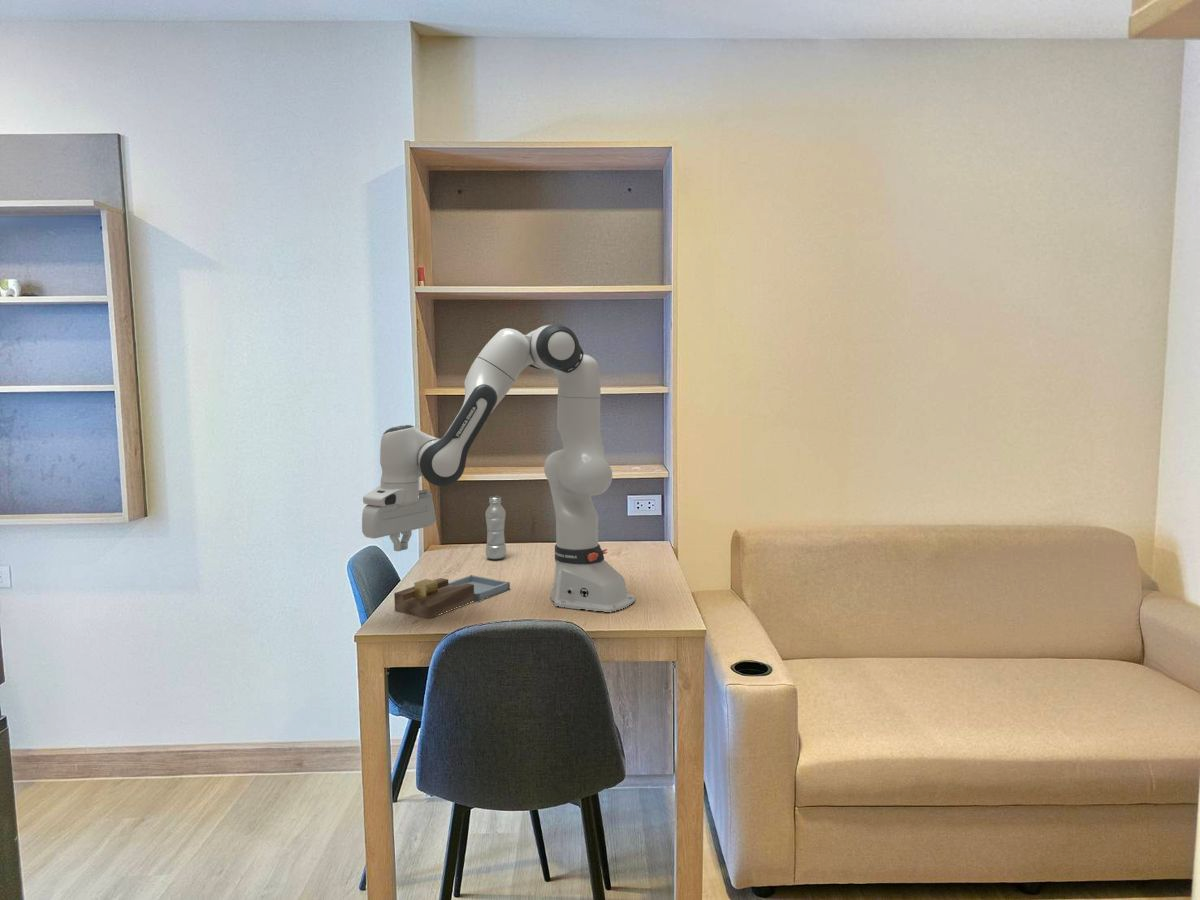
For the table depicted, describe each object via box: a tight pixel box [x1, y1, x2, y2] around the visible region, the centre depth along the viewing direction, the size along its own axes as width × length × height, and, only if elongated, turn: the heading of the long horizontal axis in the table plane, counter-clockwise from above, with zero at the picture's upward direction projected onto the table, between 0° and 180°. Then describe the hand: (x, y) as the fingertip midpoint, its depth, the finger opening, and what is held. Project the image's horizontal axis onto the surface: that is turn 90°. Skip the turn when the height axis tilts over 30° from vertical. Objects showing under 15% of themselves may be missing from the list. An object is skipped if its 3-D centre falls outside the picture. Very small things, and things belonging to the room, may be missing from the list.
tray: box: [448, 574, 511, 602], centre depth 202 cm, size 14×13×2 cm
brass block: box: [413, 578, 438, 599], centre depth 186 cm, size 4×4×4 cm
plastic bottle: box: [484, 495, 507, 560], centre depth 236 cm, size 6×7×20 cm
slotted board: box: [393, 577, 475, 619], centre depth 189 cm, size 12×16×4 cm
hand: (400, 550), depth 179 cm, fingers closed
